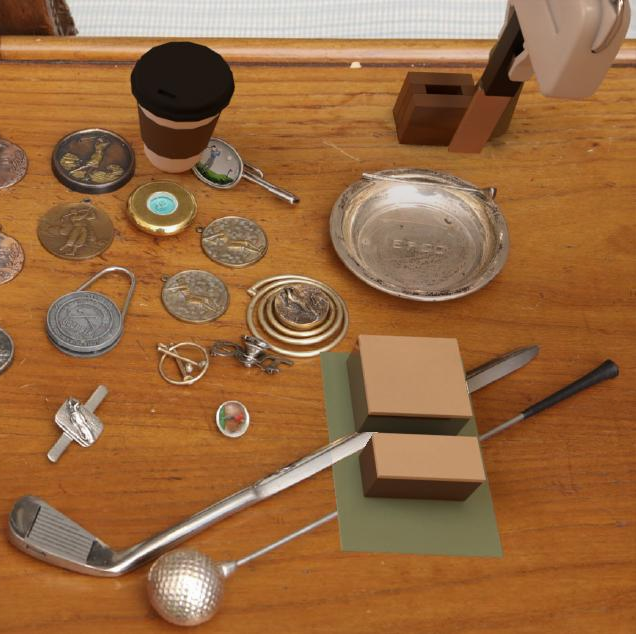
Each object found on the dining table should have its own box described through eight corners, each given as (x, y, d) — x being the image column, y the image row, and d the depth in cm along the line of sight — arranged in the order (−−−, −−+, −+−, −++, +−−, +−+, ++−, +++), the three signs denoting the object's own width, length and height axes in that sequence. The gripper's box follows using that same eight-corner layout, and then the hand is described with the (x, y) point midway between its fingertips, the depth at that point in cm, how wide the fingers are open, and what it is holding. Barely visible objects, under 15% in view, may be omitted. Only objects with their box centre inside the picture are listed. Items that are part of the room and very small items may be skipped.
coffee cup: (192, 204, 101) (206, 126, 90) (107, 164, 104) (111, 84, 93) (237, 142, 106) (254, 61, 95) (154, 105, 109) (163, 23, 98)
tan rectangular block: (457, 460, 84) (477, 436, 79) (465, 501, 82) (486, 480, 77) (358, 455, 84) (373, 432, 80) (363, 497, 82) (379, 475, 77)
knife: (477, 143, 87) (552, 4, 73) (481, 160, 86) (559, 22, 72) (445, 141, 87) (514, 2, 73) (449, 159, 86) (520, 20, 72)
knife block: (453, 111, 109) (471, 73, 104) (461, 146, 106) (481, 108, 101) (392, 109, 109) (407, 71, 104) (399, 144, 106) (415, 106, 101)
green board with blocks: (460, 361, 90) (482, 330, 85) (501, 561, 80) (529, 538, 75) (317, 355, 90) (331, 324, 86) (339, 554, 80) (356, 531, 75)
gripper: (679, 8, 59) (579, 154, 71) (601, -168, 70) (525, -17, 82) (581, 4, 60) (498, 150, 71) (518, -172, 71) (454, -20, 82)
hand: (512, 60), depth 77 cm, fingers closed on knife, 2 cm apart
